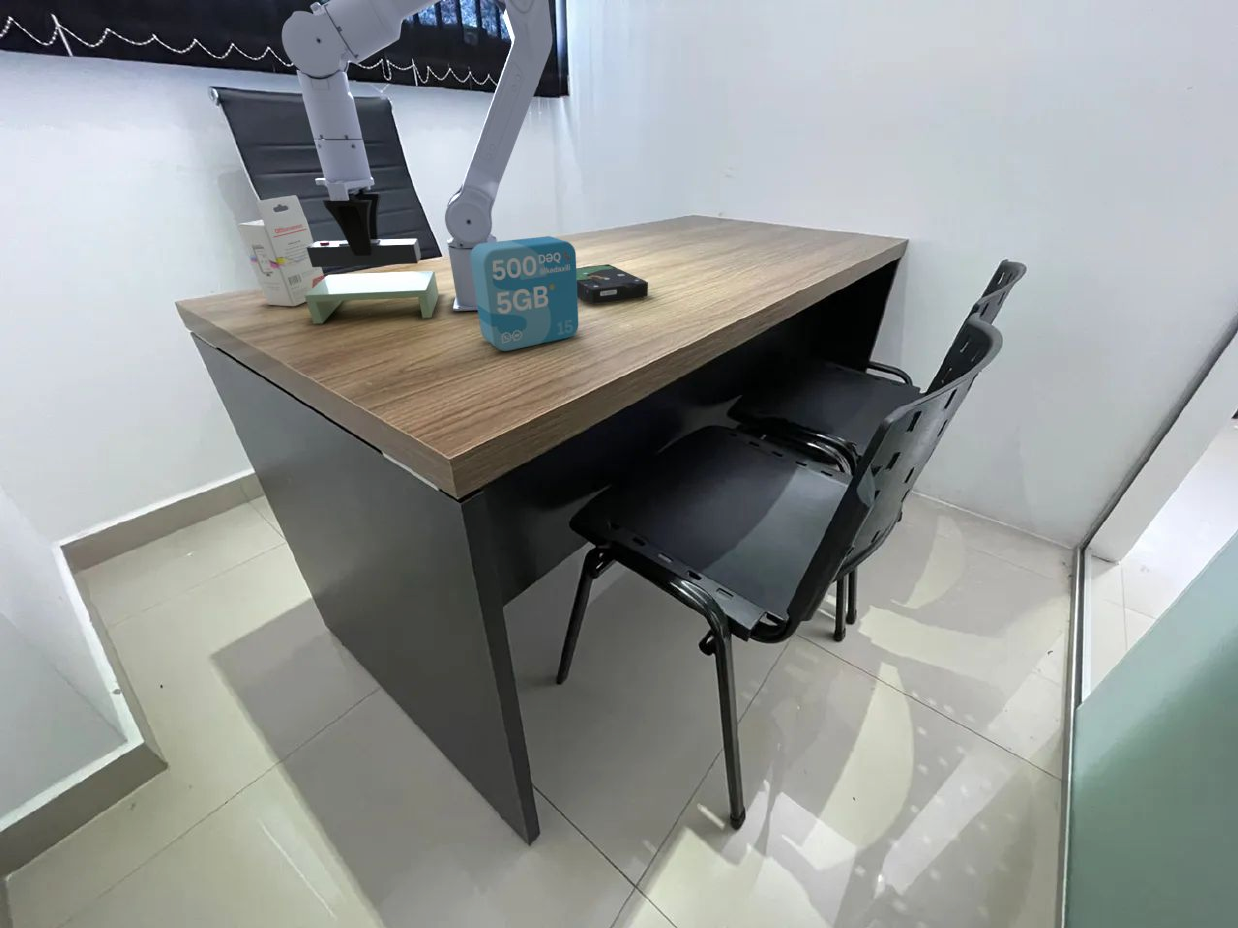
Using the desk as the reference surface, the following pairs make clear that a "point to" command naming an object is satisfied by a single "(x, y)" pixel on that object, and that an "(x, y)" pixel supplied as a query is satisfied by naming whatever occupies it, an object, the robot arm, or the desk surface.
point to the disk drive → (608, 284)
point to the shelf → (372, 291)
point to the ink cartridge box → (281, 251)
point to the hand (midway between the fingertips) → (366, 251)
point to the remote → (380, 255)
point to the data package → (525, 291)
